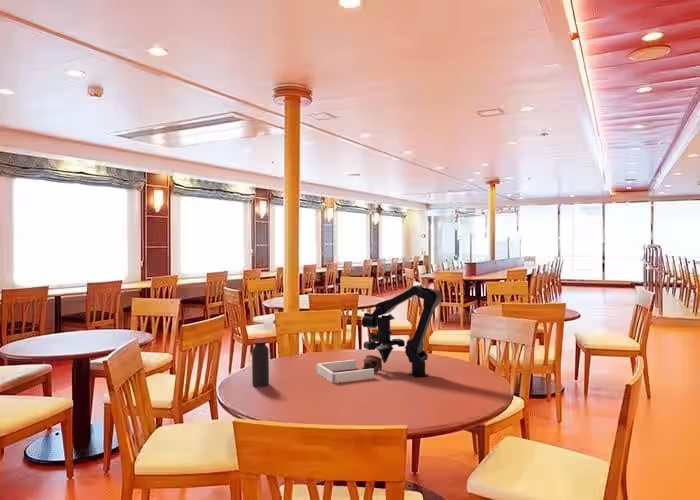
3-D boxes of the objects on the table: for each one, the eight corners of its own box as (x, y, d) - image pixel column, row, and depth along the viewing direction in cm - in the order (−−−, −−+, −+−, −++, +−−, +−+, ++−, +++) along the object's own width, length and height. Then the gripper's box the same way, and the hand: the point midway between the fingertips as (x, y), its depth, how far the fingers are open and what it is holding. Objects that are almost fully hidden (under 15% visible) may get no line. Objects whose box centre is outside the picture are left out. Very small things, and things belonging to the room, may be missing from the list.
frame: (374, 378, 216) (373, 369, 216) (332, 383, 208) (332, 373, 208) (354, 368, 235) (354, 359, 235) (316, 372, 227) (316, 363, 227)
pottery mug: (356, 371, 229) (360, 354, 233) (372, 378, 233) (377, 361, 236) (370, 370, 219) (375, 352, 223) (387, 377, 223) (391, 359, 226)
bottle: (265, 387, 204) (264, 338, 203) (249, 386, 205) (249, 337, 205) (271, 382, 210) (270, 335, 210) (256, 382, 212) (255, 335, 211)
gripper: (393, 324, 240) (394, 357, 240) (358, 327, 233) (358, 361, 233) (405, 328, 230) (405, 362, 230) (368, 331, 223) (368, 366, 223)
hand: (384, 362), depth 229 cm, fingers closed
